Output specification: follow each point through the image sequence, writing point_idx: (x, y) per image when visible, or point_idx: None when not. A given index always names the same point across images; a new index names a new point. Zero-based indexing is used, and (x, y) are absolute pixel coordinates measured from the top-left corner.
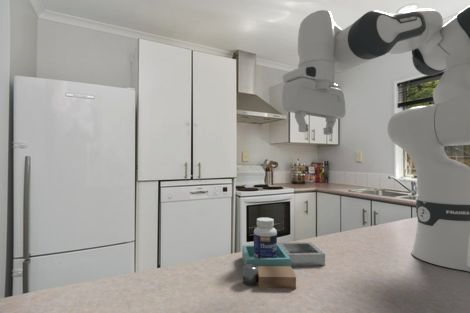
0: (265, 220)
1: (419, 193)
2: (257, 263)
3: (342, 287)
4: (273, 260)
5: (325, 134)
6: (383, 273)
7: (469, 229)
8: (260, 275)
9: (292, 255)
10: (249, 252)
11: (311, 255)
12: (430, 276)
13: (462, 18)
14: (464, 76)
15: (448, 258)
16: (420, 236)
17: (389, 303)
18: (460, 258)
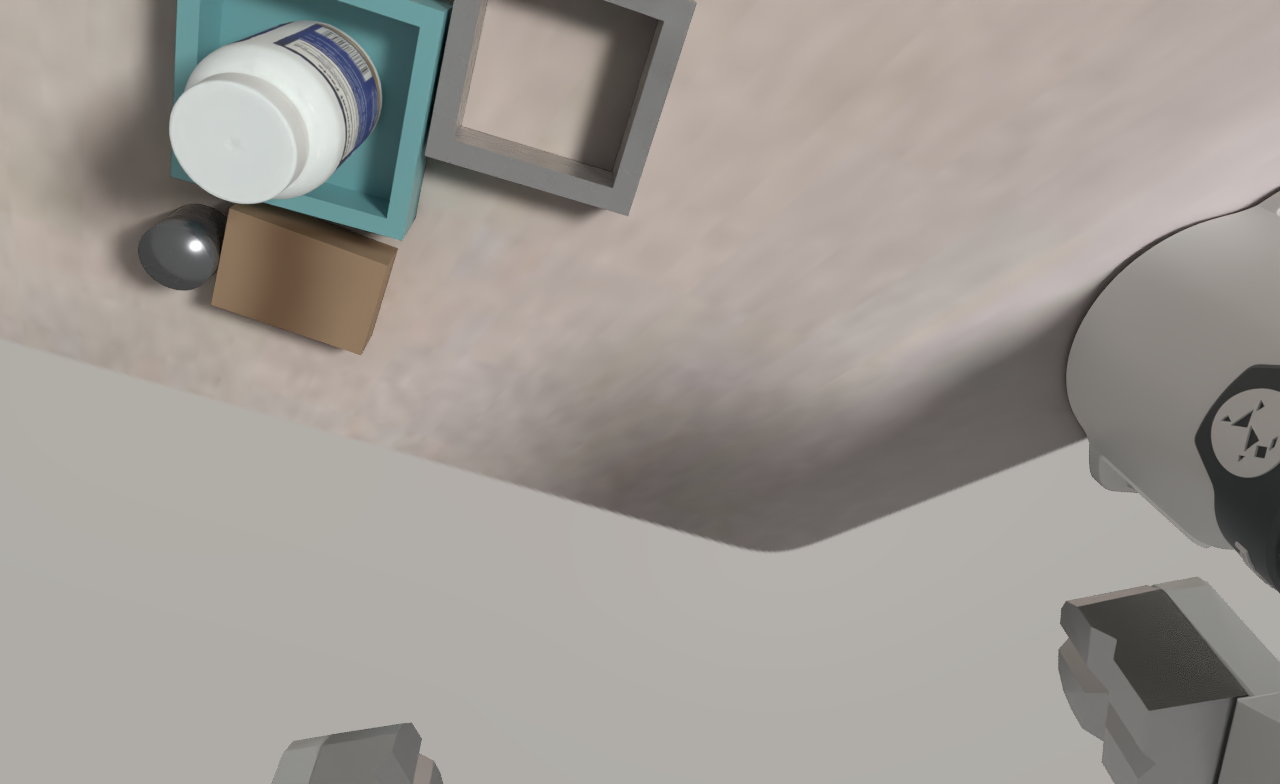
0: (223, 182)
1: None
2: None
3: (544, 380)
4: (314, 213)
5: (1061, 620)
6: (791, 349)
7: (1220, 544)
8: (220, 298)
9: (454, 163)
10: None
11: (557, 193)
12: (924, 421)
13: None
14: None
15: (1097, 423)
16: (1180, 346)
17: (607, 488)
18: (1112, 454)
